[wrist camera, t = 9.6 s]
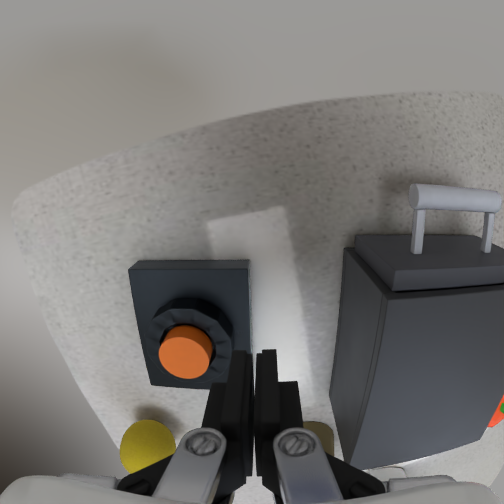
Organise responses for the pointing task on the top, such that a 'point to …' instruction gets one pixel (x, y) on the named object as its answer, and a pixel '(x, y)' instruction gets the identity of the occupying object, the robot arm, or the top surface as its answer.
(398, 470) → the paper towel roll
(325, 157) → the top surface
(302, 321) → the top surface
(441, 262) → the basket drawer
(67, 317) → the top surface
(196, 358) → the button
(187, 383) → the control block
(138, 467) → the lemon
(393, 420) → the dark grey drawer cabinet
